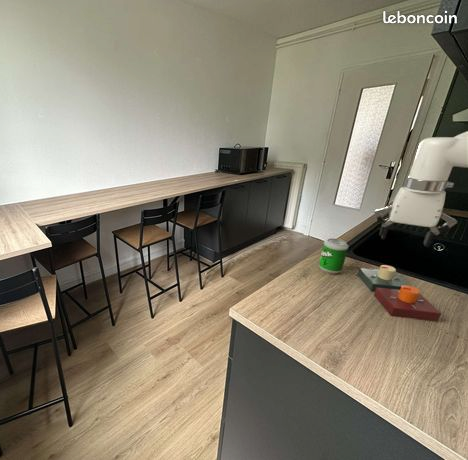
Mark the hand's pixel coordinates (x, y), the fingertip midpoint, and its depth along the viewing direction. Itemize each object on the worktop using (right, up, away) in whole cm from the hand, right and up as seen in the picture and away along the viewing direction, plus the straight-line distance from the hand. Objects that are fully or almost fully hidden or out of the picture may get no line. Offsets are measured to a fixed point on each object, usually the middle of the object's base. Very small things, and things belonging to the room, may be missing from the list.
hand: (403, 241), depth 75 cm
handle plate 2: (0, -20, +1) cm, 20 cm away
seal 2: (0, -17, -1) cm, 17 cm away
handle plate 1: (+3, -16, +11) cm, 19 cm away
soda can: (-8, -12, +21) cm, 26 cm away
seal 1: (+3, -13, +10) cm, 16 cm away
